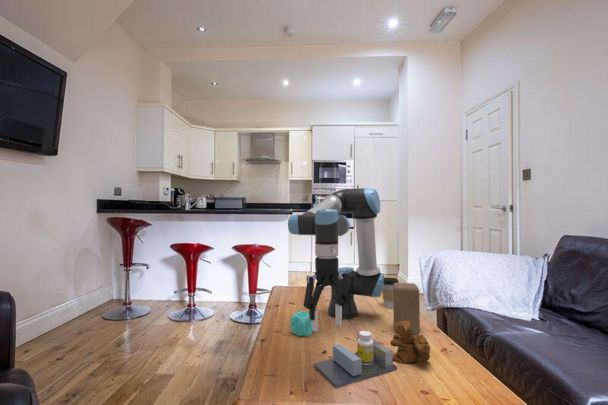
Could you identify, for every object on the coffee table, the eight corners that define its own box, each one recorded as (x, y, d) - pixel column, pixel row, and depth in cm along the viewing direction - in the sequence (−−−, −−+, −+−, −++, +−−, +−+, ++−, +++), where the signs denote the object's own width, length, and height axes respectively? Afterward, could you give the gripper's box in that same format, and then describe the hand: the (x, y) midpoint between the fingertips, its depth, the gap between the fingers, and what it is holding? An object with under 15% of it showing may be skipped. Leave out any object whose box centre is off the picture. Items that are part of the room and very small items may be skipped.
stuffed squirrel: (397, 349, 115) (397, 314, 116) (436, 360, 106) (436, 323, 107) (386, 359, 108) (386, 321, 108) (427, 372, 99) (427, 331, 99)
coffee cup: (401, 305, 168) (401, 278, 168) (396, 310, 160) (396, 282, 160) (384, 302, 173) (383, 276, 174) (378, 307, 165) (378, 279, 165)
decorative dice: (289, 333, 130) (289, 314, 131) (302, 327, 136) (302, 310, 136) (303, 338, 125) (303, 318, 125) (315, 332, 131) (315, 314, 131)
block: (420, 336, 127) (419, 288, 128) (395, 334, 129) (395, 287, 130) (416, 327, 137) (415, 283, 137) (393, 325, 139) (393, 282, 139)
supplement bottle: (355, 358, 106) (355, 330, 106) (369, 357, 107) (369, 329, 107) (360, 366, 100) (360, 336, 101) (376, 365, 101) (376, 335, 102)
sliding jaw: (332, 359, 105) (332, 345, 105) (341, 357, 106) (341, 343, 106) (353, 376, 94) (353, 361, 94) (362, 373, 95) (362, 358, 96)
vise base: (313, 366, 102) (313, 348, 103) (370, 351, 113) (370, 335, 113) (335, 388, 90) (335, 367, 90) (397, 369, 100) (396, 351, 101)
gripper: (302, 260, 90) (302, 338, 89) (360, 256, 99) (360, 326, 98) (292, 257, 96) (292, 329, 96) (347, 253, 106) (347, 318, 105)
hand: (326, 327), depth 97 cm, fingers open, 8 cm apart
